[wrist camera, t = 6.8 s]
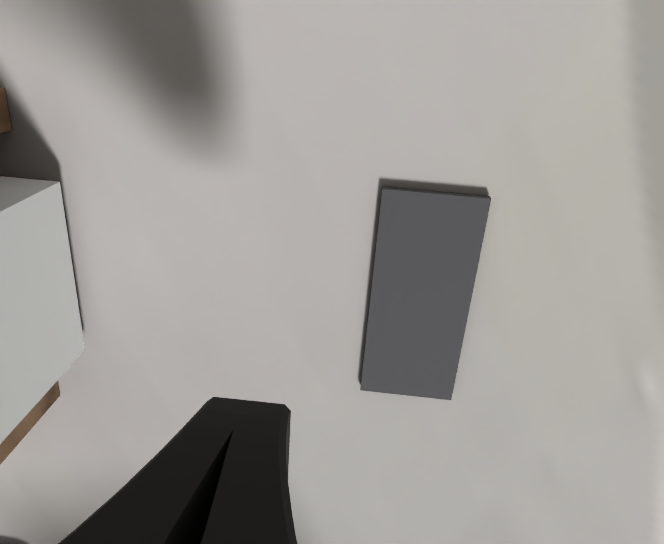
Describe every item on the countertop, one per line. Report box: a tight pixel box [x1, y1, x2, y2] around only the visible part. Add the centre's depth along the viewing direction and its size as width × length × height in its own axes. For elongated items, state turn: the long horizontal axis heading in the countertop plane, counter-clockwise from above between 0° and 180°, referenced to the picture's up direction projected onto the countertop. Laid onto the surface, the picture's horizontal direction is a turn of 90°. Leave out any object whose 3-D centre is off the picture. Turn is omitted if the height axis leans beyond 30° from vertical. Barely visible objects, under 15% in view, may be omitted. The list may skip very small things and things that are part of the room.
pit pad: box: [360, 187, 491, 400], centre depth 14 cm, size 6×3×1 cm, turn 176°
